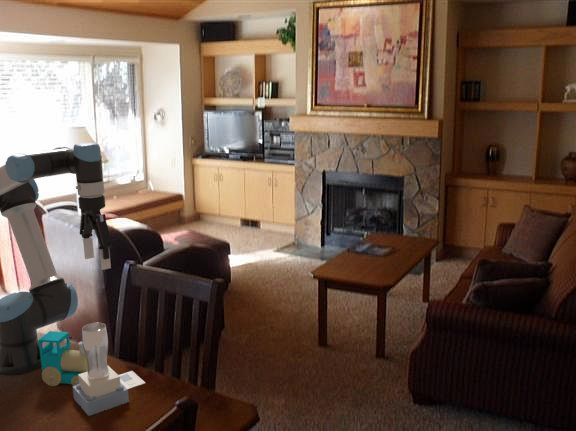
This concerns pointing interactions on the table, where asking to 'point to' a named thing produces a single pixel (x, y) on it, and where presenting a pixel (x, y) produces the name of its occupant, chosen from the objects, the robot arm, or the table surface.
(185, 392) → the table surface
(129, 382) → the page
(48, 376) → the toy train
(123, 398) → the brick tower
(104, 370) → the beer glass
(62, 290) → the robot arm
